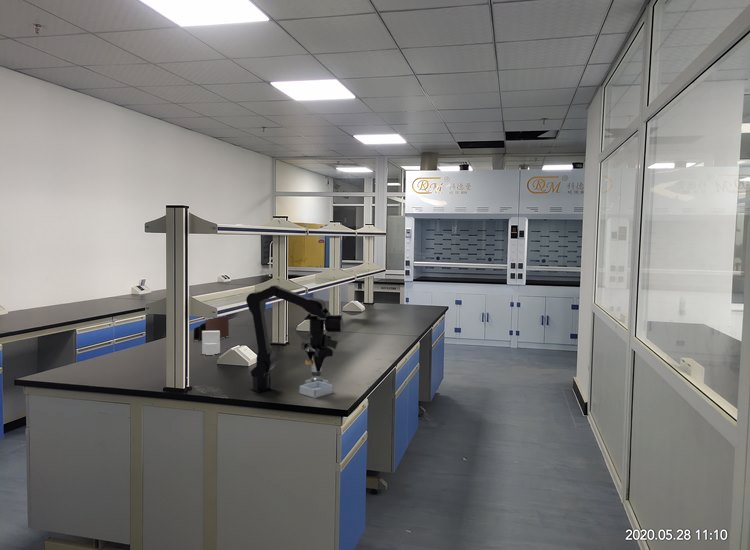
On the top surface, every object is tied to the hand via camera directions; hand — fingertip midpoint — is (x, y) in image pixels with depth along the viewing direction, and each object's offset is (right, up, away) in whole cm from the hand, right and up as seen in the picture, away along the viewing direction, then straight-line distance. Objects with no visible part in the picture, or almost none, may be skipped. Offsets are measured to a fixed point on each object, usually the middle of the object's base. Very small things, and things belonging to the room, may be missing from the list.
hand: (316, 370), depth 209 cm
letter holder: (-75, -1, +109) cm, 132 cm away
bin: (0, -9, +1) cm, 9 cm away
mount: (-1, -8, +14) cm, 16 cm away
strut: (-1, -2, 0) cm, 2 cm away
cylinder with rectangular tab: (-63, -4, +69) cm, 94 cm away
